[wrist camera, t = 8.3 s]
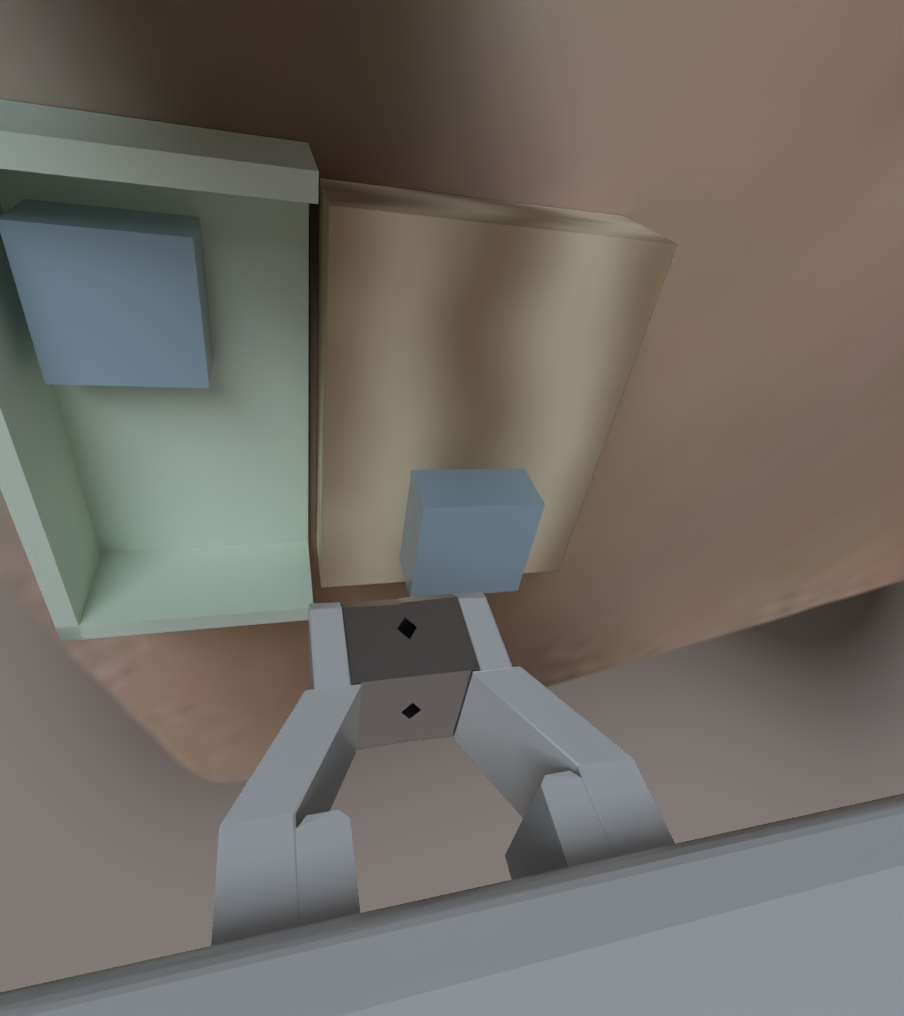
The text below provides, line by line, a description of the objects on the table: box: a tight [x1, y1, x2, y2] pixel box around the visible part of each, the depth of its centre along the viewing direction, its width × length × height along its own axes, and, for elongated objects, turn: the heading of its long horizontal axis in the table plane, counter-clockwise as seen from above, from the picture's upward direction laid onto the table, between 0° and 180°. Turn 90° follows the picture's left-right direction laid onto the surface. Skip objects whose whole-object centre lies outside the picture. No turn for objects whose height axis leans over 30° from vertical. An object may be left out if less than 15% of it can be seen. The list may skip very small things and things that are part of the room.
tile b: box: [399, 468, 545, 597], centre depth 25 cm, size 5×5×2 cm
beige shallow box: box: [315, 178, 677, 588], centre depth 25 cm, size 12×16×4 cm
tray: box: [0, 99, 319, 641], centre depth 21 cm, size 10×18×5 cm, turn 171°
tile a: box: [0, 199, 214, 388], centre depth 19 cm, size 5×5×2 cm
